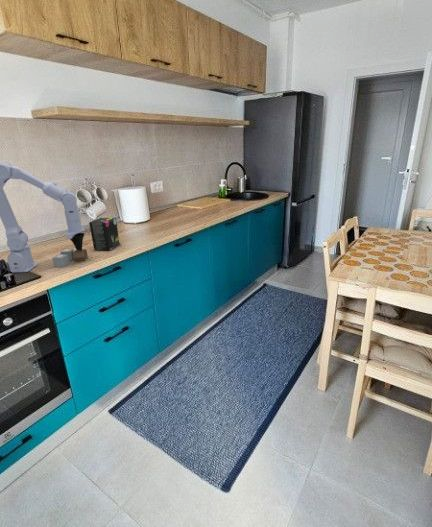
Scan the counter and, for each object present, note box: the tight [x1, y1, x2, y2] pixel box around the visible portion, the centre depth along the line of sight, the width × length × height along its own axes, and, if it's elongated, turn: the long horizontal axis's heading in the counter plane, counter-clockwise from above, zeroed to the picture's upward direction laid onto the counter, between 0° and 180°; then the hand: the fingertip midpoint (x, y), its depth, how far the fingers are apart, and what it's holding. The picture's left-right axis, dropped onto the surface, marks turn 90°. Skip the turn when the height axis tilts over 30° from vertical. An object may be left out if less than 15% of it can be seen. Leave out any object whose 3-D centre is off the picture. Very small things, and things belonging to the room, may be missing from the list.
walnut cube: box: [73, 248, 89, 263], centre depth 143 cm, size 4×4×4 cm
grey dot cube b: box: [51, 253, 71, 269], centre depth 137 cm, size 4×4×5 cm
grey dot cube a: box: [59, 248, 75, 262], centre depth 145 cm, size 4×4×5 cm
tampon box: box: [88, 217, 120, 252], centre depth 158 cm, size 11×9×15 cm
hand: (79, 249), depth 142 cm, fingers closed
